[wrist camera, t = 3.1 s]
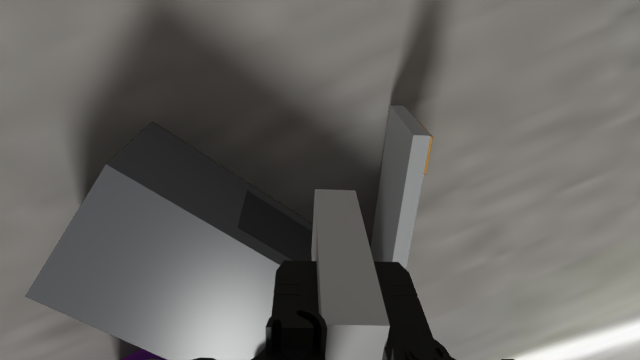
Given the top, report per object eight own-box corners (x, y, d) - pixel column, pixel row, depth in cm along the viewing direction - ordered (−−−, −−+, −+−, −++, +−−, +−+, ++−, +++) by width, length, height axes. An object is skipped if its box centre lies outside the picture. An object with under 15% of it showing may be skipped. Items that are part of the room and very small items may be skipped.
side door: (387, 103, 22) (412, 136, 17) (413, 105, 23) (445, 138, 18) (367, 256, 27) (382, 316, 22) (388, 256, 27) (409, 316, 22)
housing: (83, 230, 25) (14, 308, 19) (152, 121, 22) (97, 170, 16) (304, 344, 31) (305, 433, 25) (382, 268, 28) (406, 347, 22)
